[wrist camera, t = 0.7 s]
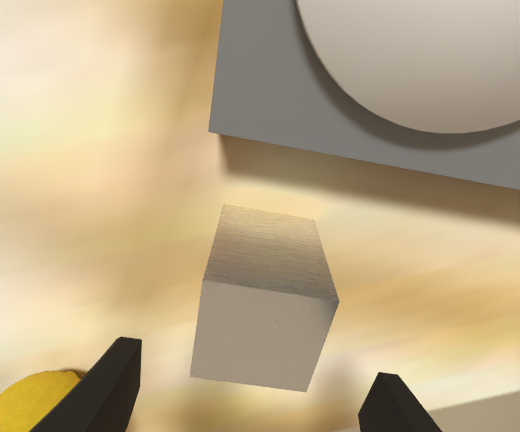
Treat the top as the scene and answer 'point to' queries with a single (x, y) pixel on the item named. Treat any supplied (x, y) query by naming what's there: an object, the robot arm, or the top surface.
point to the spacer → (263, 301)
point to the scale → (376, 82)
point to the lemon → (33, 399)
